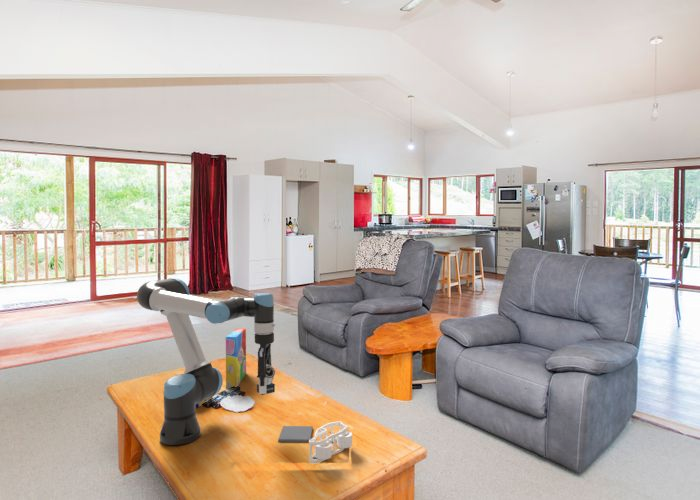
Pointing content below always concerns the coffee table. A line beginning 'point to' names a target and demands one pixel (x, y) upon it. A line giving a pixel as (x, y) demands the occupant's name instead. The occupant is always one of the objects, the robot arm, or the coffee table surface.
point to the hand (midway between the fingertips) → (264, 389)
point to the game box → (235, 357)
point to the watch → (269, 380)
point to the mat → (295, 434)
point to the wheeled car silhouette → (329, 442)
